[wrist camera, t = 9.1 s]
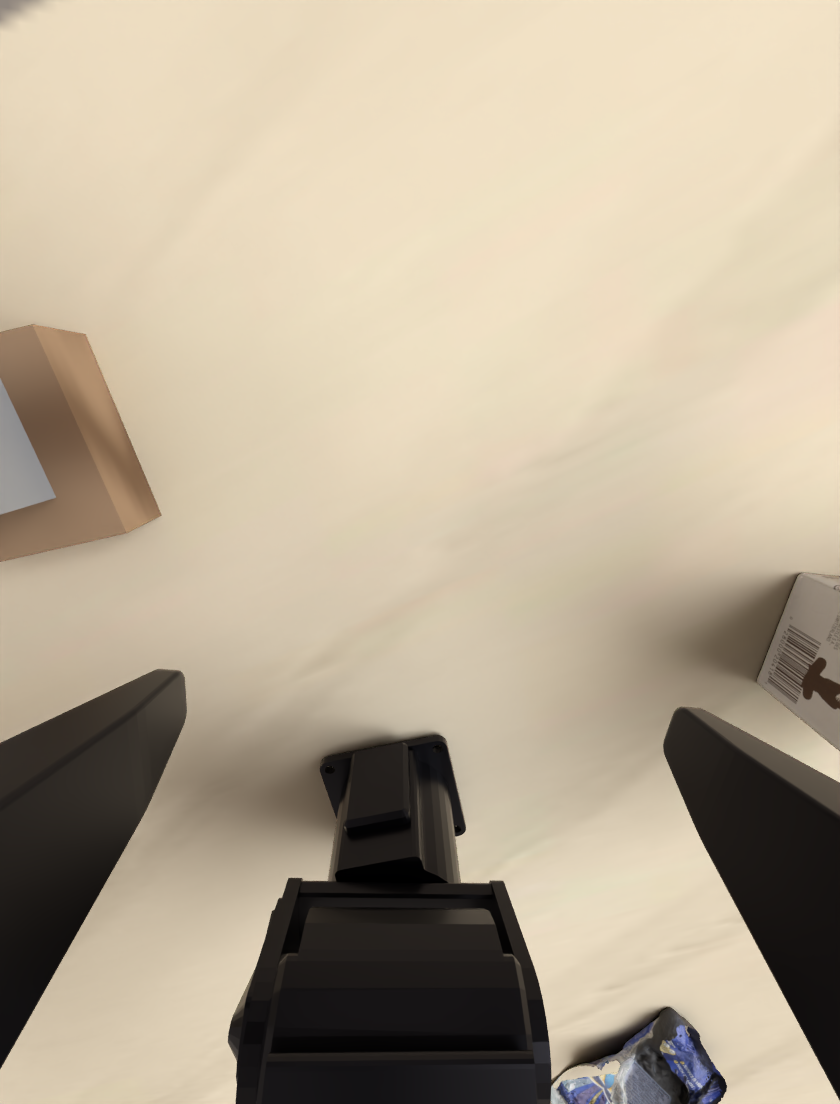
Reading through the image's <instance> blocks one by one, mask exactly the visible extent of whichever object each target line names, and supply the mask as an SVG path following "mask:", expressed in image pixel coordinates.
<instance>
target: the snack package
mask: <svg viewBox="0 0 840 1104" xmlns="http://www.w3.org/2000/svg"><path fill="white" fill-rule="evenodd" d="M685 1026H688V1029H687V1031H688V1032H689V1033H690V1035H691V1036H690V1037H688V1035H687V1033H686V1031H685ZM699 1037H700V1035H699V1033H698V1032H697V1031H696V1030H695V1028H694V1027H693V1026H692V1025H691V1024H690V1023H689V1022H688V1021H687V1020H686V1019H685V1018H683V1017H681V1016H680V1015H679V1014H678V1013H677V1012H676V1011H675V1010H673V1009H672V1008H666V1009H665V1010H663V1011H661V1012H660V1016H659V1017H658V1018H657V1019H656V1020H655V1021H653V1022H651V1023H649V1025H648V1026H646V1027H645V1028H644V1029H642V1030H641V1031H640V1032H639V1033H637V1034H636V1035H635V1036H634V1037H632V1038H631V1039H630V1040H628V1041H627V1042H626V1043H625V1045H624V1046H623V1050H621V1051H620V1052H619V1053H617V1054H615V1055H610V1056H606V1057H604V1058H602V1059H598V1060H596V1061H593V1062H590V1063H582V1064H579V1065H577V1066H592V1067H594V1066H597V1067H598V1069H599V1068H600V1070H602V1067H603V1066H604V1065H605V1063H607V1064H609V1061H614V1060H617V1061H619V1063H620V1068H619V1071H618V1072H617V1073H612V1074H607V1075H600V1076H596V1077H583V1078H578V1079H575V1080H566V1081H562V1082H561V1083H560V1084H561V1085H559V1087H558V1089H555V1088H553V1085H552V1087H551V1104H718V1102H720V1101H721V1098H723V1096H724V1094H725V1092H726V1088H727V1085H726V1082H725V1079H724V1078H723V1077H722V1075H721V1074H720V1072H719V1071H718V1070H717V1069H716V1068H715V1066H714V1064H713V1062H711V1060H710V1058H709V1056H708V1054H707V1053H706V1050H705V1049H704V1048H703V1046H702V1044H701V1041H700V1038H699ZM608 1060H609V1061H608ZM577 1066H574V1067H577ZM574 1067H572V1068H574ZM569 1069H571V1068H569ZM569 1069H568V1070H569ZM566 1071H567V1070H566ZM566 1071H565V1072H566ZM559 1078H560V1077H559ZM559 1078H558V1079H559ZM558 1079H557V1080H558ZM557 1080H556V1081H557ZM556 1081H555V1082H556ZM555 1082H554V1083H555Z"/></svg>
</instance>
